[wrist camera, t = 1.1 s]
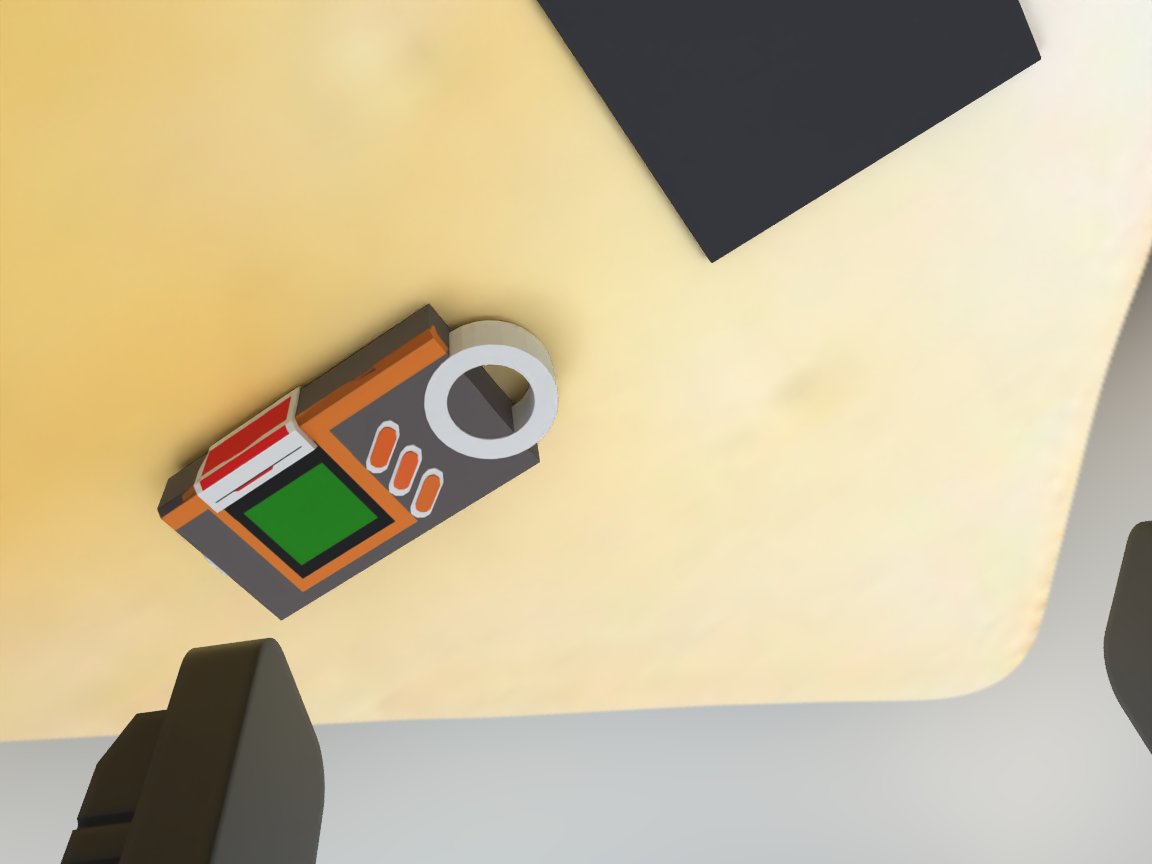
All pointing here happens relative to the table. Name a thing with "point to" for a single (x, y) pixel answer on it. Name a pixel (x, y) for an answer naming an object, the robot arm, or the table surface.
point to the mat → (782, 90)
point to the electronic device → (364, 458)
